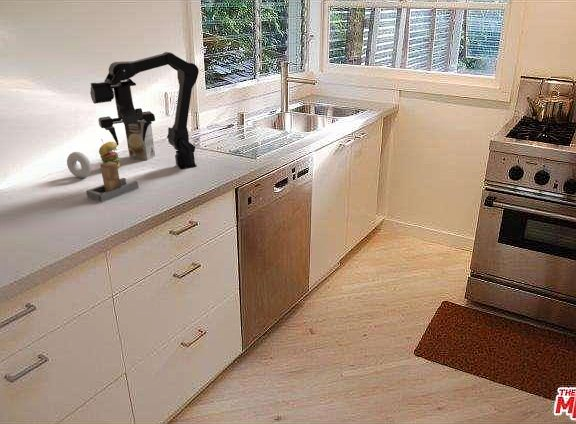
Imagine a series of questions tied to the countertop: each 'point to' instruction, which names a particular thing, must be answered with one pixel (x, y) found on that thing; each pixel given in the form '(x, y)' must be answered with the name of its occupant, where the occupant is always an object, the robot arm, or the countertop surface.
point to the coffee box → (139, 142)
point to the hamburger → (109, 153)
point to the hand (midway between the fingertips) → (130, 142)
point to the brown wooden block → (110, 175)
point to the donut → (82, 160)
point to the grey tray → (111, 191)
